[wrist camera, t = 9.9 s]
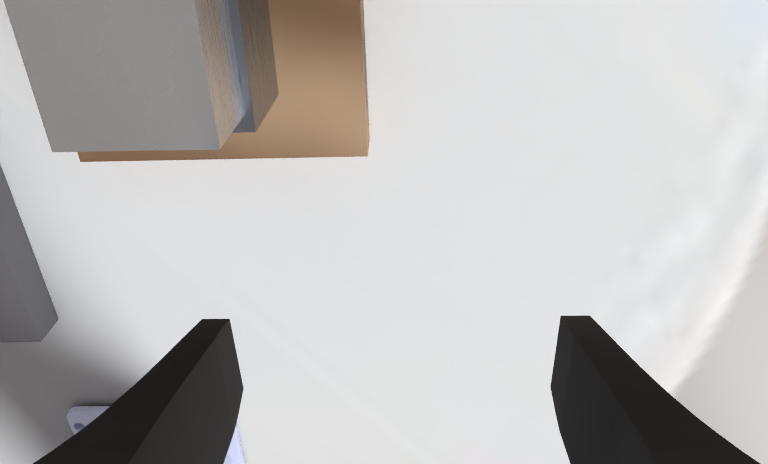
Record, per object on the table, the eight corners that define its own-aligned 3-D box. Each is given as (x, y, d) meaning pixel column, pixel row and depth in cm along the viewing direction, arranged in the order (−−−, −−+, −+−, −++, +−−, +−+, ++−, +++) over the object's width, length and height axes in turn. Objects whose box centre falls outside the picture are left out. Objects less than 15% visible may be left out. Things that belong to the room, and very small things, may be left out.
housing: (278, 94, 19) (233, 169, 14) (142, 97, 20) (48, 171, 14) (254, -120, 16) (185, -125, 11) (93, -115, 17) (-48, -118, 11)
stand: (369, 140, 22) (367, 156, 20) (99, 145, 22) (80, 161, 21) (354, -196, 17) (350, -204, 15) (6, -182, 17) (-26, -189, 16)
